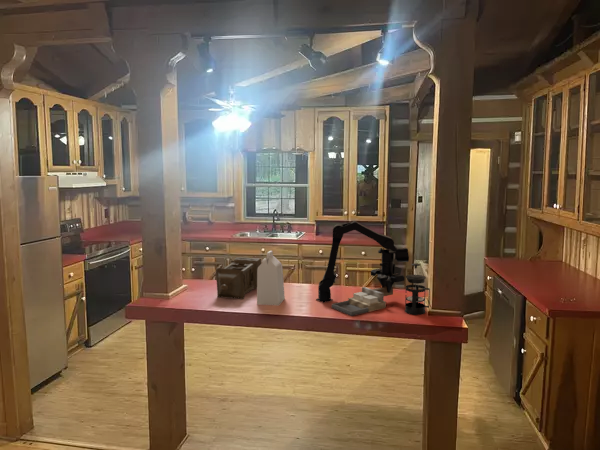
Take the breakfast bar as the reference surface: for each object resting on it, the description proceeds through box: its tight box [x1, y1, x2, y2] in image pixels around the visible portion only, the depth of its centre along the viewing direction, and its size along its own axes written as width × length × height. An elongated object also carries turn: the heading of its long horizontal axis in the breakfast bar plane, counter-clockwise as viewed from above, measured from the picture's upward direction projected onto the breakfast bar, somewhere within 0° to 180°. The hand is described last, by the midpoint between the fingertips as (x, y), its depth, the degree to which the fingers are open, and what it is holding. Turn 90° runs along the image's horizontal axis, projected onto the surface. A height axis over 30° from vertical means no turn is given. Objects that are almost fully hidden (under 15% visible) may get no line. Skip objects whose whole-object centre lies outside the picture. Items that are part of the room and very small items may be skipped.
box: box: [331, 299, 369, 317], centre depth 218 cm, size 15×10×2 cm
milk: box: [256, 250, 286, 306], centre depth 233 cm, size 12×12×26 cm
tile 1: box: [353, 291, 368, 301], centre depth 226 cm, size 5×5×2 cm
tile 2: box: [363, 295, 378, 304], centre depth 220 cm, size 5×5×2 cm
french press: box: [404, 263, 431, 316], centre depth 212 cm, size 12×9×23 cm
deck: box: [347, 297, 387, 313], centre depth 224 cm, size 15×11×3 cm
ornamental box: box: [215, 257, 262, 300], centre depth 247 cm, size 35×18×18 cm, turn 163°
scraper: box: [361, 286, 394, 302], centre depth 229 cm, size 14×14×4 cm
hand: (386, 291), depth 231 cm, fingers closed on scraper, 2 cm apart
